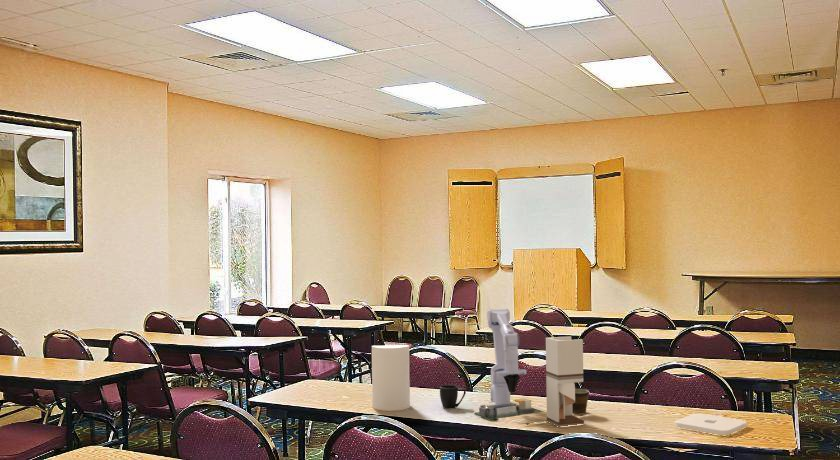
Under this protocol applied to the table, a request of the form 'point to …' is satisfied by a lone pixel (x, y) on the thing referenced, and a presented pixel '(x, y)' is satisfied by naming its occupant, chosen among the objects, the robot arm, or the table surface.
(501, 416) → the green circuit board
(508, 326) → the robot arm
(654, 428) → the table surface
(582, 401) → the ceramic cup
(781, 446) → the table surface
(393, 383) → the cylinder
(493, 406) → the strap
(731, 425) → the computer
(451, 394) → the mug
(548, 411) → the coffee maker
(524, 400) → the block
